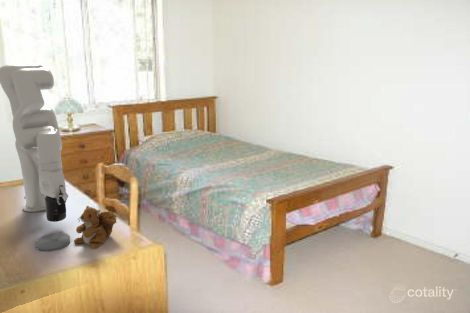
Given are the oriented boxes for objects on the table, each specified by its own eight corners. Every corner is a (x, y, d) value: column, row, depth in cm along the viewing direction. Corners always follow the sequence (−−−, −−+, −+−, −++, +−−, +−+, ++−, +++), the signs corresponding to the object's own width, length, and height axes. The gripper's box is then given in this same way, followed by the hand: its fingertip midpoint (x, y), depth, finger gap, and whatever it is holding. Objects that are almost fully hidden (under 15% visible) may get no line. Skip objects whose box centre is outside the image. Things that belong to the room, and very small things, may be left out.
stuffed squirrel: (71, 244, 148) (67, 208, 145) (105, 230, 159) (101, 196, 156) (89, 252, 142) (85, 215, 139) (122, 236, 153) (119, 202, 150)
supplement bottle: (59, 223, 156) (56, 192, 152) (43, 221, 157) (39, 190, 154) (70, 215, 162) (67, 185, 159) (54, 213, 164) (50, 184, 160)
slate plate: (29, 245, 147) (29, 241, 147) (58, 234, 156) (58, 230, 156) (48, 254, 141) (47, 249, 141) (76, 241, 150) (76, 237, 149)
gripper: (27, 163, 155) (33, 208, 161) (55, 172, 146) (60, 220, 151) (46, 158, 161) (51, 202, 166) (74, 167, 152) (79, 213, 157)
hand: (56, 210), depth 159 cm, fingers closed on supplement bottle, 6 cm apart
